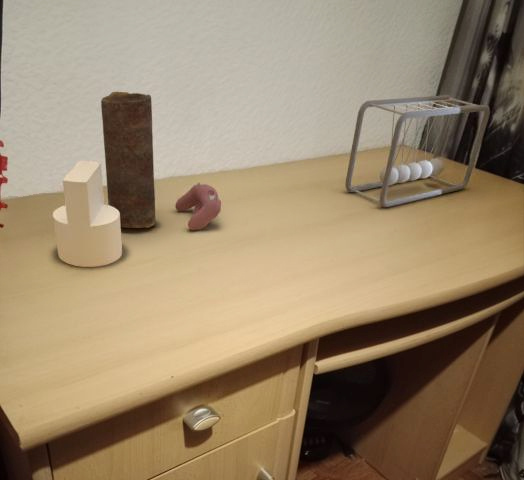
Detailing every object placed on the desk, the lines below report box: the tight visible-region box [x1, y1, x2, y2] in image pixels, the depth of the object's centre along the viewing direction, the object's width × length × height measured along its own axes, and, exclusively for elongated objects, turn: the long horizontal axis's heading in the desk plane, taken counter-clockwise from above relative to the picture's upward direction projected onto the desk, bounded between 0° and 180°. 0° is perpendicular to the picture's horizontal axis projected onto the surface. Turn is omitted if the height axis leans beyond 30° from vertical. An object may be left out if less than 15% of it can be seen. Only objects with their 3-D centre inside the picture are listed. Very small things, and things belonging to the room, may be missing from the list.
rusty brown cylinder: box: [100, 91, 157, 229], centre depth 83 cm, size 8×7×20 cm
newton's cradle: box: [345, 94, 491, 208], centre depth 112 cm, size 30×10×18 cm, turn 129°
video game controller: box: [174, 182, 222, 231], centre depth 92 cm, size 10×5×7 cm, turn 22°
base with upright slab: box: [52, 160, 123, 268], centre depth 76 cm, size 9×9×12 cm
